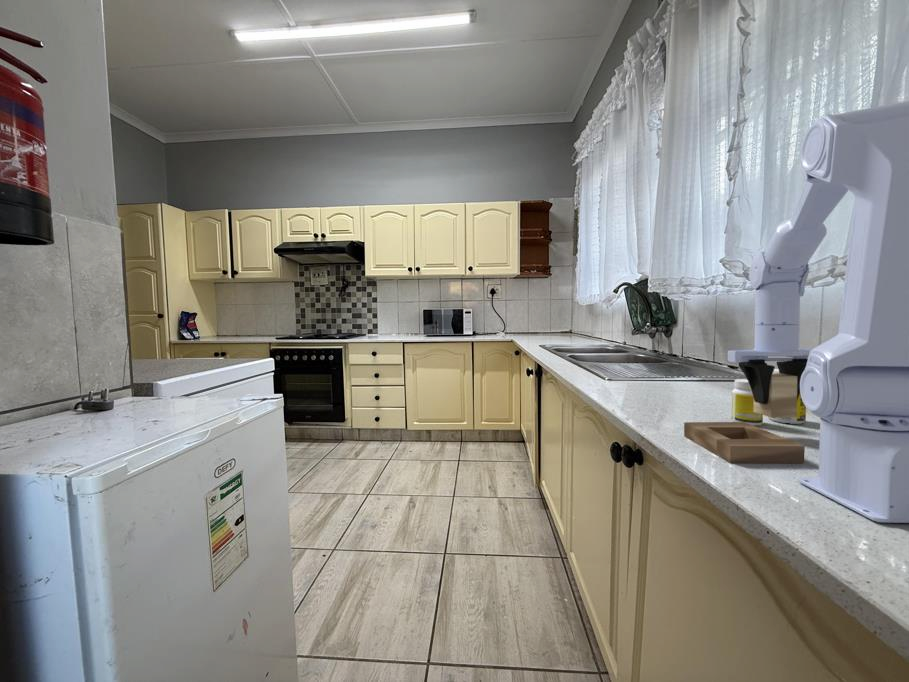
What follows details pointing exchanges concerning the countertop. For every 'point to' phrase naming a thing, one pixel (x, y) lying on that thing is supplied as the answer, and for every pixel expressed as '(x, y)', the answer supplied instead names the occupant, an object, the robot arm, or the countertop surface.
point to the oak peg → (780, 397)
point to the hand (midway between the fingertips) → (775, 402)
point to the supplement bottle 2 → (800, 412)
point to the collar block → (743, 443)
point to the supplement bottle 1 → (744, 404)
